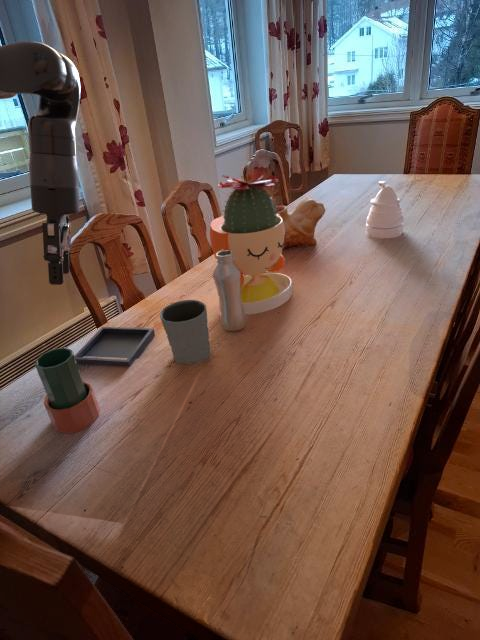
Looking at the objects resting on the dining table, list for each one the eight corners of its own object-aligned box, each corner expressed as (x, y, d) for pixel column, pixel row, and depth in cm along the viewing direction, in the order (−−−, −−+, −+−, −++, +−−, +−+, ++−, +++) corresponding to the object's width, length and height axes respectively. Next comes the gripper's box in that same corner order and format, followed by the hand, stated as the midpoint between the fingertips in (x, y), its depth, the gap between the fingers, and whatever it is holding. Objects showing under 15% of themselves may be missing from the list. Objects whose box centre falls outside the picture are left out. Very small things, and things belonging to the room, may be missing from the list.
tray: (73, 365, 101) (71, 358, 100) (104, 333, 113) (102, 326, 112) (130, 369, 97) (128, 361, 96) (155, 335, 109) (153, 328, 108)
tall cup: (52, 427, 82) (27, 367, 75) (71, 404, 87) (49, 346, 80) (82, 430, 80) (58, 369, 73) (99, 406, 86) (79, 348, 79)
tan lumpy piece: (332, 242, 154) (332, 200, 146) (262, 255, 150) (258, 213, 142) (317, 231, 166) (316, 192, 158) (252, 243, 162) (248, 203, 154)
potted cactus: (306, 292, 121) (302, 163, 104) (246, 322, 110) (231, 183, 93) (256, 273, 137) (245, 158, 119) (199, 298, 125) (178, 175, 108)
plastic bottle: (247, 332, 105) (239, 256, 96) (220, 335, 106) (209, 259, 96) (247, 320, 111) (238, 246, 101) (221, 322, 111) (210, 249, 102)
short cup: (44, 433, 81) (34, 409, 78) (70, 402, 89) (61, 379, 86) (85, 437, 79) (76, 412, 76) (108, 405, 87) (100, 382, 84)
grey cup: (221, 349, 100) (215, 304, 94) (195, 373, 93) (186, 325, 87) (188, 340, 105) (180, 296, 100) (160, 361, 98) (150, 316, 92)
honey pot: (359, 235, 157) (361, 185, 148) (375, 225, 165) (377, 177, 156) (393, 240, 149) (397, 187, 140) (408, 229, 157) (412, 179, 149)
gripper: (38, 181, 77) (44, 270, 82) (20, 183, 64) (29, 288, 69) (82, 184, 79) (85, 270, 84) (74, 186, 66) (78, 288, 71)
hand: (60, 278), depth 77 cm, fingers open, 8 cm apart
